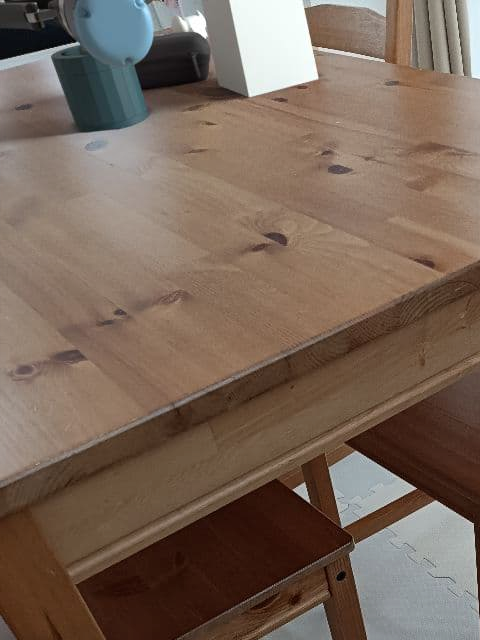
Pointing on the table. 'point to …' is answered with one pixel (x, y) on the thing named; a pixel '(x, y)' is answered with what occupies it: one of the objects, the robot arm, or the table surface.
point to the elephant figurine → (190, 24)
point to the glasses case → (174, 60)
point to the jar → (99, 91)
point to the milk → (259, 44)
